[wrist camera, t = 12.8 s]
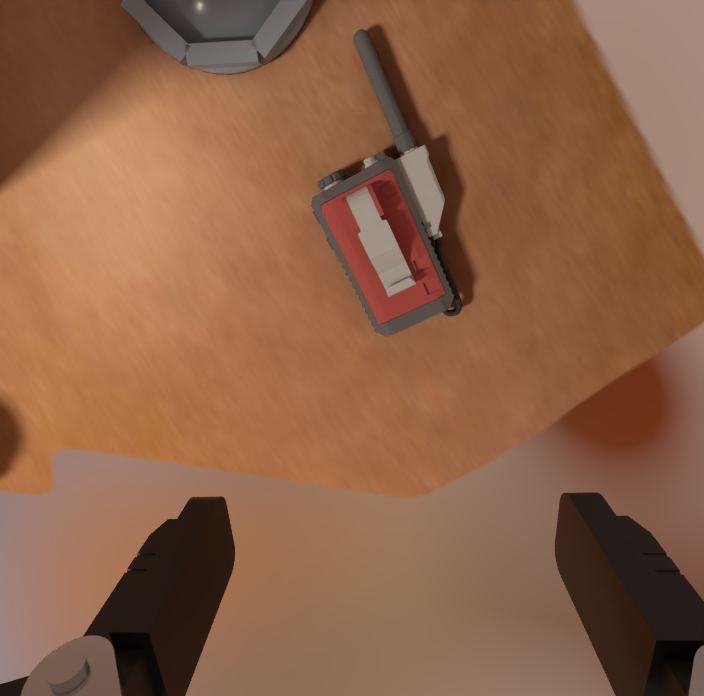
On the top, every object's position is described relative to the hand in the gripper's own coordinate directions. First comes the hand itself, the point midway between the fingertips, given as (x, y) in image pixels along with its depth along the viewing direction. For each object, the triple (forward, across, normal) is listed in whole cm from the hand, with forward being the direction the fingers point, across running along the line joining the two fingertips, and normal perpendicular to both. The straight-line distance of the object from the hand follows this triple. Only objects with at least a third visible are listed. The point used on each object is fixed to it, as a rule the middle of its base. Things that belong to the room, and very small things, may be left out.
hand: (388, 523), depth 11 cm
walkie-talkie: (+26, 0, -6) cm, 27 cm away
